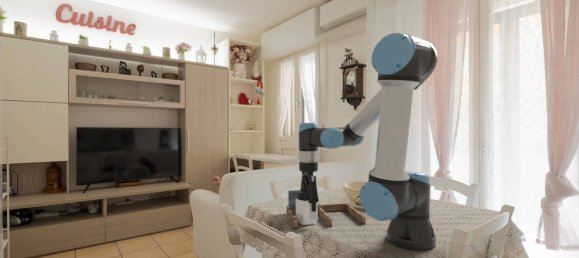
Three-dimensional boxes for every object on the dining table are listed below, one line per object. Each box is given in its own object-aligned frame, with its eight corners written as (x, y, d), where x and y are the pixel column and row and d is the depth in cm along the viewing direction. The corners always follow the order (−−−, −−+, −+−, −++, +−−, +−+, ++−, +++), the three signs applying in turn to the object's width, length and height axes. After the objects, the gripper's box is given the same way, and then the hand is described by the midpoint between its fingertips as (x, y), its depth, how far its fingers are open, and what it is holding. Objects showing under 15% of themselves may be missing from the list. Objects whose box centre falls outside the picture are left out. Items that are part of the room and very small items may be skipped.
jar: (322, 222, 116) (321, 192, 116) (307, 226, 111) (306, 195, 111) (306, 216, 123) (306, 188, 123) (292, 220, 118) (291, 191, 118)
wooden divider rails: (365, 224, 113) (365, 198, 113) (294, 229, 108) (294, 202, 108) (346, 209, 133) (346, 187, 132) (286, 213, 128) (286, 190, 128)
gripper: (326, 165, 105) (327, 223, 105) (310, 157, 129) (310, 204, 130) (306, 166, 104) (306, 225, 104) (293, 157, 128) (293, 205, 129)
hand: (308, 214), depth 117 cm, fingers open, 13 cm apart
